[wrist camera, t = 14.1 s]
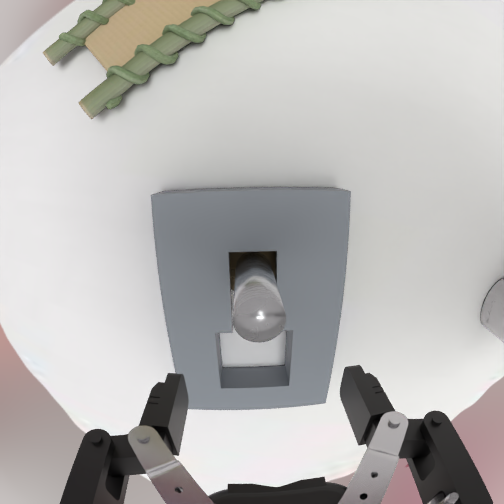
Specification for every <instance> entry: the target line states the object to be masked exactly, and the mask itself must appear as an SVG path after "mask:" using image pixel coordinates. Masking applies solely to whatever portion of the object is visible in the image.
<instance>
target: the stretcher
mask: <svg viewBox="0 0 504 504" xmlns="http://www.w3.org/2000/svg"><path fill="white" fill-rule="evenodd" d="M262 1H264V0H103V2H102V5H100V6H99V7H98V8H96V9H95V10H94V11H91V10H86V11H85V12H83V13H82V14H80V16H79V19H78V24H77V25H76V26H75V27H74V28H72V29H71V30H70V31H69V32H67V33H61V34H60V35H59V39H58V40H57V41H56V42H55V43H53V44H52V45H51V46H50V47H49V48H47V49H46V50H45V51H44V52H43V54H44V55H45V57H46V58H47V59H48V60H49V62H50V63H51V64H52V65H53V66H54V65H55V64H56V63H57V62H58V61H59V60H61V59H62V58H63V57H64V56H65V55H67V54H68V53H69V52H70V51H71V50H73V49H74V48H75V47H76V46H84V45H85V46H86V47H87V48H88V49H89V50H90V51H91V53H92V54H93V55H94V56H95V57H96V59H97V60H98V61H99V62H100V63H101V64H102V66H103V67H104V68H105V69H106V70H107V74H106V75H107V79H106V80H105V81H104V82H103V83H101V84H100V85H99V86H97V87H96V88H95V89H94V90H93V91H91V92H90V93H89V94H88V95H87V96H85V97H84V98H83V99H82V100H81V101H80V102H79V105H80V106H81V107H82V109H83V110H84V111H85V112H86V114H87V115H88V116H89V117H90V118H91V119H93V118H94V117H95V116H96V115H97V114H98V113H99V112H101V111H102V110H103V109H104V108H105V107H107V109H112V108H114V107H116V106H118V105H119V103H120V101H121V99H122V96H121V94H123V93H124V92H125V91H126V90H127V89H129V88H130V87H131V86H132V85H133V84H143V83H145V82H146V81H147V80H148V78H149V76H150V75H149V72H150V71H151V70H152V69H153V68H155V67H156V66H157V65H159V64H160V63H162V64H165V65H168V64H172V63H174V62H175V61H176V59H177V58H178V53H177V51H178V50H180V49H181V48H183V47H184V46H186V45H187V44H189V43H190V42H194V43H201V42H203V41H204V39H205V37H206V32H208V31H209V30H211V29H212V28H214V27H216V26H217V25H219V24H221V23H222V24H223V25H231V24H233V22H234V20H235V18H234V16H235V15H237V14H239V13H241V12H242V11H244V10H246V9H248V8H252V9H254V10H258V9H260V7H261V4H260V2H262Z"/></svg>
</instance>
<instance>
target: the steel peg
mask: <svg viewBox="0 0 504 504" xmlns="http://www.w3.org/2000/svg"><path fill="white" fill-rule="evenodd" d="M229 259H230V282H231V289H232V290H233V291H234V310H233V325H234V328H235V330H236V331H237V333H238V334H239V335H240V336H241V337H243V338H244V339H246V340H248V341H252V342H265V341H269V340H271V339H273V338H275V337H276V336H278V335H279V334H280V333H281V332H282V330H283V329H284V326H285V323H286V314H285V310H284V307H283V303H282V300H281V297H280V293H279V290H278V287H277V283H276V280H275V271H276V251H257V252H229Z"/></svg>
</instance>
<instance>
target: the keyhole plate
mask: <svg viewBox="0 0 504 504" xmlns="http://www.w3.org/2000/svg"><path fill="white" fill-rule="evenodd" d="M350 194H351V191H348V190H343V189H339V188H317V187H249V188H216V189H194V190H176V191H162V192H159V193H156V194H153V195H151V201H152V215H153V227H154V238H155V248H156V257H157V265H158V273H159V281H160V288H161V295H162V301H163V308H164V314H165V320H166V326H167V331H168V337H169V342H170V347H171V352H172V357H173V362H174V367H175V372H176V374H183V375H184V378H185V383H186V387H187V392H188V398H189V404H188V409H202V410H250V409H272V408H286V407H297V406H307V405H315V404H323V403H326V398H327V393H328V388H329V383H330V378H331V373H332V367H333V362H334V356H335V350H336V344H337V338H338V331H339V324H340V317H341V309H342V301H343V293H344V283H345V274H346V263H347V251H348V237H349V219H350ZM257 251H276V271H275V280H276V283H277V287H278V290H279V293H280V297H281V300H282V303H283V307H284V310H285V314H286V323H285V326H284V329H283V330H282V331H287V334H286V353H285V365H283V366H266V367H235V368H222V359H221V348H220V337H219V333H233V321H232V302H231V282H230V259H229V252H257Z"/></svg>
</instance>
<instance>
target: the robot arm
mask: <svg viewBox="0 0 504 504" xmlns="http://www.w3.org/2000/svg"><path fill="white" fill-rule="evenodd" d="M481 322H482V324H483V326H484V327H486V328H487V329H488V330H489V331H491V332H492V333H493V334H494V335H495V336H496V337H498V338H499V339H500V340H501V341H502V342H504V279H501V280H499V281H498V282H497V283H496V284H495V285H494V286H493V287H492V289H491V290H490V291H489V293H488V295H487V297H486V299H485V301H484V304H483V307H482V311H481ZM340 397H341V401H342V403H343V406H344V408H345V411H346V414H347V416H348V419H349V421H350V424H351V427H352V429H353V432H354V435H355V437H356V440H357V443H358V445H363V444H366V445H367V450H366V452H365V454H364V456H363V458H362V460H361V462H360V464H359V466H358V468H357V470H356V472H355V474H354V476H353V478H352V480H351V481H350V483H349V485H348V487H345V486H343V485H339V484H336V483H330V482H325V478H324V477H320V478H313V479H306V480H300V481H297V482H294V483H291V484H288V485H284V486H281V487H270V486H263V485H256V484H228V489H227V490H222V491H219V492H216V493H214V494H211V495H210V496H207V495H206V493H205V492H204V491H203V490H202V489H201V488H200V486H199V485H198V484H197V483H196V482H195V480H194V479H193V478H192V477H191V475H190V474H189V473H188V472H187V470H186V469H185V468H184V466H183V465H182V464H181V463H180V462H179V461H177V460H176V459H175V457H174V456H173V455H177V456H179V452H180V446H181V441H182V436H183V431H184V425H185V420H186V415H187V410H188V404H189V398H188V392H187V387H186V383H185V378H184V375H183V374H175V373H168V375H167V377H166V380H165V383H161V382H158V383H157V384H156V385H155V386H154V387H153V388H152V390H151V393H150V395H149V398H148V401H147V404H146V407H145V409H144V412H143V415H142V418H141V421H140V424H139V426H137V427H135V428H133V429H132V430H131V431H130V432H129V434H126V435H118V436H110V435H109V433H108V432H106V431H105V430H102V429H94V430H91V431H89V432H87V433H86V434H85V436H84V438H83V440H82V443H81V445H80V448H79V451H78V453H77V456H76V459H75V461H74V464H73V466H72V469H71V472H70V475H69V478H68V480H67V483H66V486H65V489H64V492H63V495H62V499H61V502H60V504H124V499H125V494H126V489H127V484H128V479H129V475H136V474H147V475H148V477H149V478H150V480H151V481H152V483H153V484H154V486H155V488H156V489H157V491H158V492H159V494H160V495H161V497H162V498H163V500H164V501H165V503H166V504H380V503H381V501H382V499H383V497H384V495H385V492H386V490H387V488H388V485H389V483H390V480H391V478H392V476H393V473H394V471H395V468H396V466H397V463H398V460H399V458H406V459H407V462H408V464H409V467H410V469H411V472H412V475H413V478H414V480H415V483H416V485H417V488H418V491H419V494H420V497H421V499H422V502H423V504H493V501H492V499H491V497H490V494H489V492H488V490H487V489H486V486H485V484H484V482H483V481H482V478H481V476H480V474H479V472H478V470H477V468H476V467H475V465H474V463H473V461H472V459H471V457H470V455H469V453H468V451H467V450H466V448H465V446H464V444H463V443H462V441H461V439H460V437H459V435H458V434H457V432H456V430H455V429H454V427H453V425H452V423H451V422H450V420H449V418H448V417H447V416H446V415H445V414H444V413H442V412H440V411H431V412H429V413H427V414H426V415H425V417H424V419H407V417H406V416H405V415H404V414H402V413H400V412H396V411H395V410H394V408H393V406H392V404H391V403H390V401H389V399H388V397H387V395H386V394H385V392H384V390H383V388H382V387H381V385H380V383H379V381H378V380H377V378H376V377H374V376H373V375H372V374H370V373H367V374H365V373H364V371H363V369H362V367H361V366H360V365H356V366H349V367H345V369H344V373H343V378H342V382H341V387H340Z"/></svg>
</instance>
